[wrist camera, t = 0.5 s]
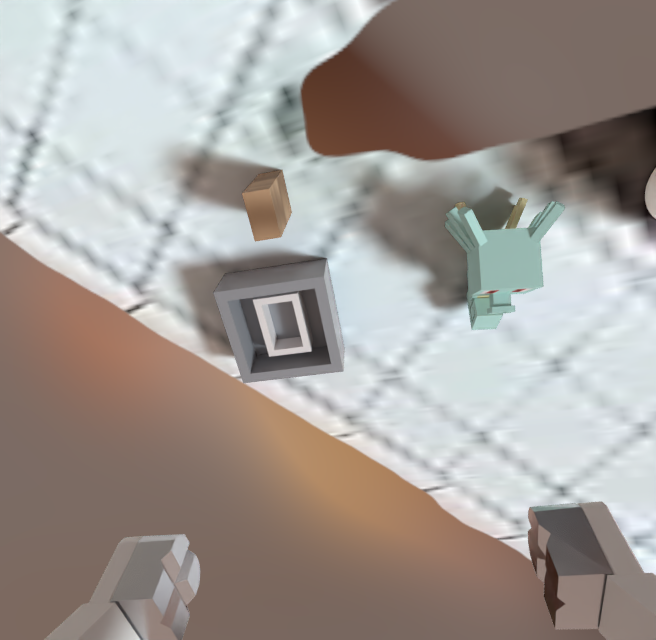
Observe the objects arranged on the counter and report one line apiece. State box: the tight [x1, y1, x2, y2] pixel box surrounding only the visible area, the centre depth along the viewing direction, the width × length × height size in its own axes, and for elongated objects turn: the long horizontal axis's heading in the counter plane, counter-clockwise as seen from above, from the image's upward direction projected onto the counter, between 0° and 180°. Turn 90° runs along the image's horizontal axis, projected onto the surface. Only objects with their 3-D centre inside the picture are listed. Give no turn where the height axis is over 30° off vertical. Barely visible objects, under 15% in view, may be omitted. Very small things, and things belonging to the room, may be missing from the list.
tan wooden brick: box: [242, 170, 292, 241], centre depth 46 cm, size 4×2×8 cm, turn 10°
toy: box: [445, 198, 565, 330], centre depth 46 cm, size 10×13×15 cm
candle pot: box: [213, 258, 345, 383], centre depth 54 cm, size 12×12×5 cm
